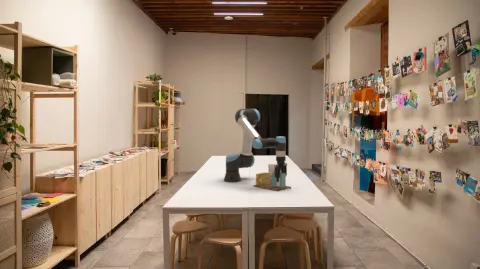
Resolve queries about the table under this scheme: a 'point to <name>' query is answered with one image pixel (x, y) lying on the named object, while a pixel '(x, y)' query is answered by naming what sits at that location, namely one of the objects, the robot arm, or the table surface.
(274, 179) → the stub
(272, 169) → the candy box
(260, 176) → the board
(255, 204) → the table surface
